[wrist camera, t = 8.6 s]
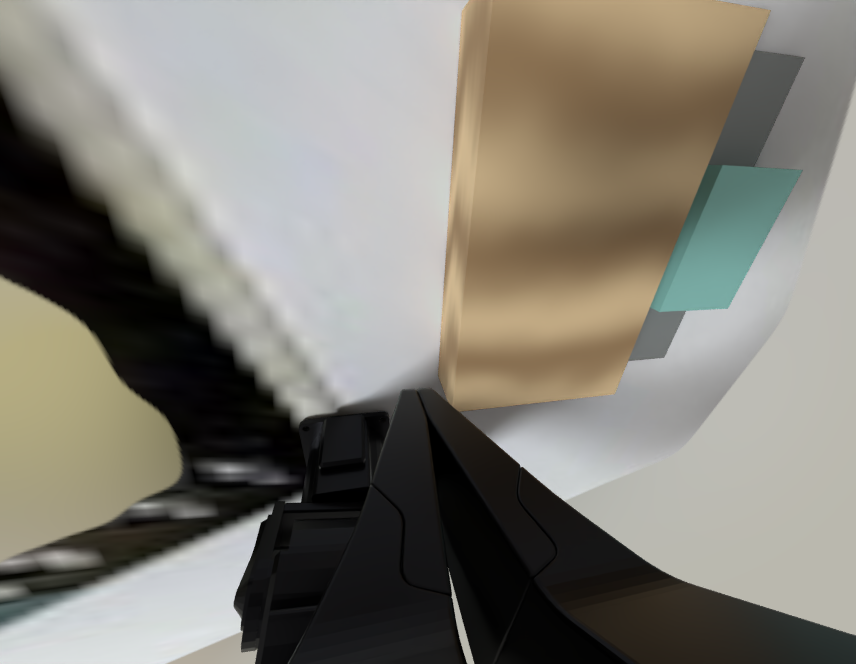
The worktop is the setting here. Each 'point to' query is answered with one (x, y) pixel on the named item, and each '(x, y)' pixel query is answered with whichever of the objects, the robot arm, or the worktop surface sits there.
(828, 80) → the worktop surface
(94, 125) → the worktop surface
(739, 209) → the teal rectangular block
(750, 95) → the mat
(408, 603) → the robot arm
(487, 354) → the board
